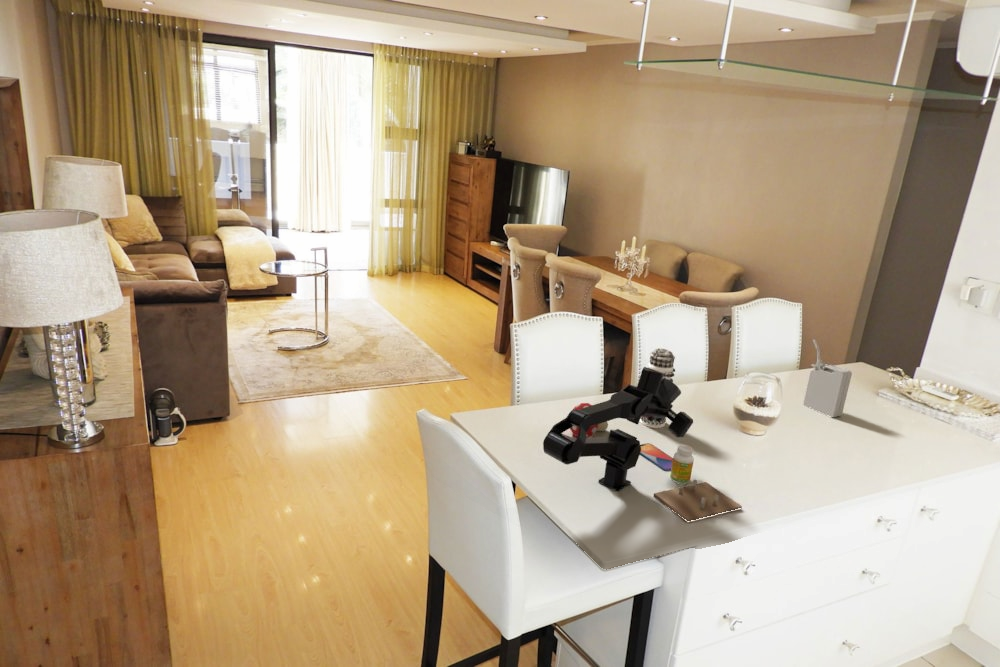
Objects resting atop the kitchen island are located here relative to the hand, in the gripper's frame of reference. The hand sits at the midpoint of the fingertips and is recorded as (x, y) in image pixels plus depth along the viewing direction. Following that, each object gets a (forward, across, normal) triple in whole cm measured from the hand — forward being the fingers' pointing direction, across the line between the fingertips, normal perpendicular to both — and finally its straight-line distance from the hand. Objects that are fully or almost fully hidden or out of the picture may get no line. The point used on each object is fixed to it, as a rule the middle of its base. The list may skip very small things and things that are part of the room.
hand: (676, 411), depth 190 cm
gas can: (+84, -5, -11) cm, 85 cm away
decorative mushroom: (-3, +18, +23) cm, 30 cm away
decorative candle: (+22, +16, +15) cm, 30 cm away
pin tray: (-10, -24, +13) cm, 29 cm away
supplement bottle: (-3, -14, +14) cm, 20 cm away
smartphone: (+2, -2, +16) cm, 16 cm away
